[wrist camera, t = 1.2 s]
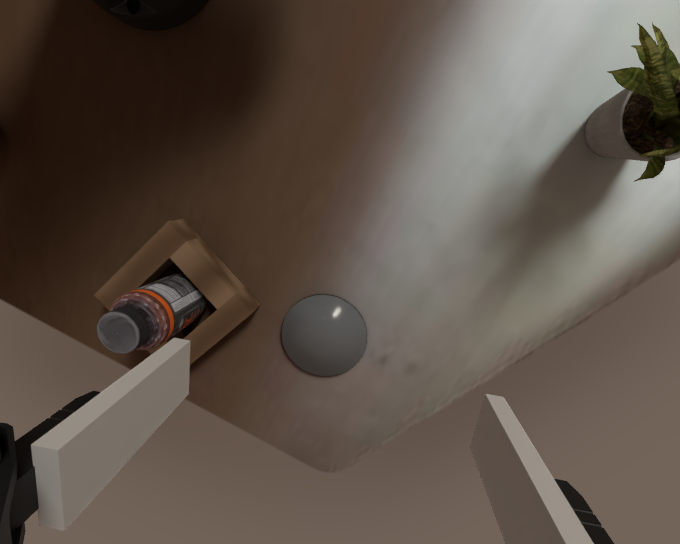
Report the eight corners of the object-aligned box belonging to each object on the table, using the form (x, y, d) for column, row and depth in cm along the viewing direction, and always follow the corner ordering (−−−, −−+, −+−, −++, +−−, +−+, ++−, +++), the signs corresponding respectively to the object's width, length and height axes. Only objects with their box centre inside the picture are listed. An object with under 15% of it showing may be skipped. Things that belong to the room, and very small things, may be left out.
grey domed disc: (265, 327, 41) (264, 329, 40) (329, 276, 38) (328, 278, 38) (320, 388, 42) (319, 391, 41) (384, 342, 39) (384, 344, 39)
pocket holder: (113, 287, 41) (93, 295, 39) (183, 218, 39) (168, 221, 36) (187, 365, 43) (173, 378, 40) (260, 304, 40) (251, 313, 37)
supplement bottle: (190, 329, 42) (124, 378, 31) (152, 296, 41) (72, 333, 30) (219, 296, 40) (161, 334, 29) (181, 261, 40) (107, 287, 29)
